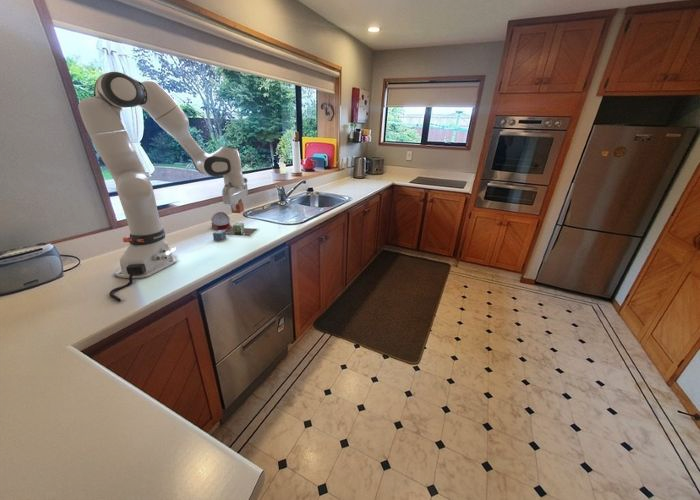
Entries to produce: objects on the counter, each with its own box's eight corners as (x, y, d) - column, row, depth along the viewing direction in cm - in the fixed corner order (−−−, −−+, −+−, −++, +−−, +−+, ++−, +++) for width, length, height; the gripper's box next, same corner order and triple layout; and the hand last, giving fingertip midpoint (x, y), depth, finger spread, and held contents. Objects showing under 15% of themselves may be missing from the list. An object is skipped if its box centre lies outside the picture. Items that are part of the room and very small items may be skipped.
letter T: (222, 241, 146) (220, 233, 144) (214, 241, 146) (212, 233, 144) (226, 238, 150) (225, 230, 148) (218, 238, 150) (217, 230, 148)
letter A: (241, 233, 156) (240, 225, 155) (233, 232, 157) (232, 225, 155) (244, 230, 160) (243, 223, 159) (237, 230, 161) (236, 222, 159)
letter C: (240, 213, 142) (239, 204, 140) (231, 212, 142) (230, 204, 140) (244, 210, 146) (243, 202, 144) (235, 210, 146) (234, 202, 144)
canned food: (230, 232, 171) (236, 219, 167) (221, 236, 161) (227, 222, 158) (214, 222, 170) (220, 209, 167) (204, 226, 161) (210, 211, 157)
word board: (249, 237, 153) (249, 236, 152) (219, 235, 154) (219, 234, 154) (258, 229, 164) (257, 228, 163) (229, 228, 165) (229, 227, 164)
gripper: (230, 185, 128) (234, 214, 134) (248, 178, 147) (251, 203, 152) (216, 185, 128) (221, 214, 134) (237, 177, 147) (240, 203, 153)
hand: (237, 208), depth 143 cm, fingers closed on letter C, 4 cm apart
